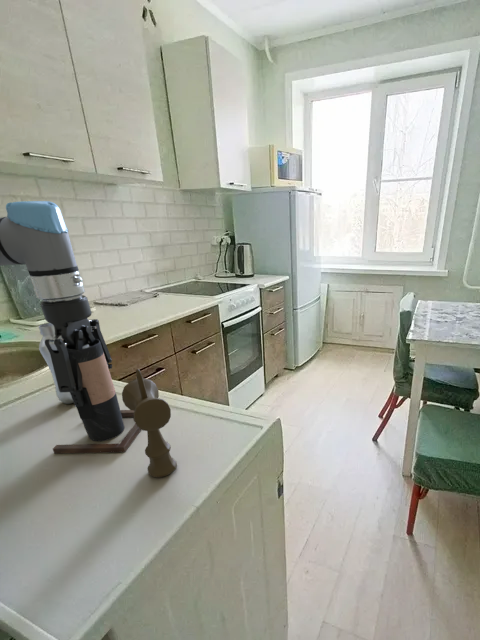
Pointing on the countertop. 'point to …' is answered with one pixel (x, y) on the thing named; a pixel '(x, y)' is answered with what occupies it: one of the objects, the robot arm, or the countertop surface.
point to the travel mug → (99, 393)
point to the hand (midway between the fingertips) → (99, 407)
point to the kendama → (150, 422)
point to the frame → (102, 447)
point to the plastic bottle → (49, 333)
